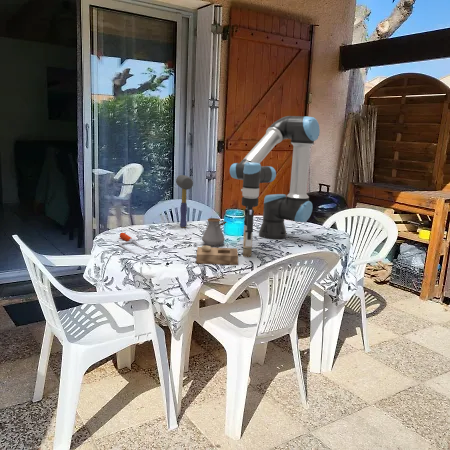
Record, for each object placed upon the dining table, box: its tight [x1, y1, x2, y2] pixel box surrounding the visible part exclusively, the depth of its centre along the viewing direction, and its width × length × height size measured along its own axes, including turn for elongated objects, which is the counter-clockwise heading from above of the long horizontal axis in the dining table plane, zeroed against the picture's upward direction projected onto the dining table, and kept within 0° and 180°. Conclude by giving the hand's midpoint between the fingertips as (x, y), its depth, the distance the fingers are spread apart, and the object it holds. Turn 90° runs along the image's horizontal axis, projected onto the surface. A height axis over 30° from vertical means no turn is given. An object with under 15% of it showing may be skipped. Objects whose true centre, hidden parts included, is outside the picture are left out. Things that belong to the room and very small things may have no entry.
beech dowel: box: [242, 231, 254, 258], centre depth 213 cm, size 4×4×11 cm
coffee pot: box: [201, 217, 227, 247], centre depth 226 cm, size 21×12×15 cm, turn 22°
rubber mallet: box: [175, 174, 194, 229], centre depth 261 cm, size 12×8×30 cm, turn 21°
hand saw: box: [118, 232, 155, 256], centre depth 222 cm, size 33×3×10 cm
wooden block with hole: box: [195, 244, 239, 266], centre depth 205 cm, size 18×12×6 cm, turn 91°
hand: (247, 242), depth 212 cm, fingers open, 13 cm apart
